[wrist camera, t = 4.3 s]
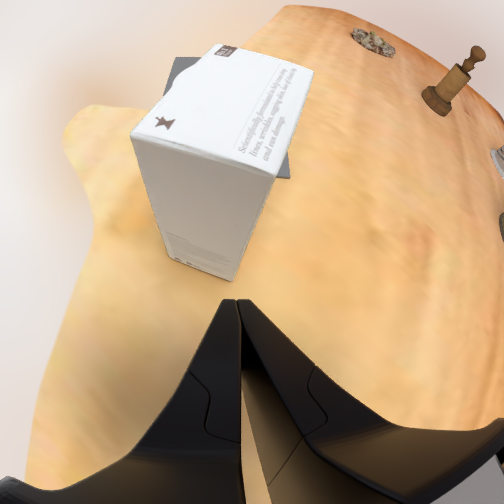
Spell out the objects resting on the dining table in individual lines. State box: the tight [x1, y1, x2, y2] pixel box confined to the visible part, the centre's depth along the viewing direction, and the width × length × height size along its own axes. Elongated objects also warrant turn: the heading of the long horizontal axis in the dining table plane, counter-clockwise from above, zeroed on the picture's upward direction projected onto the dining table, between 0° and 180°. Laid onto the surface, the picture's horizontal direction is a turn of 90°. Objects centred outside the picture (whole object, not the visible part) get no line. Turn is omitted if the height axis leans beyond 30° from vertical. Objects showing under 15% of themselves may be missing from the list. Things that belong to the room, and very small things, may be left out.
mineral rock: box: [352, 28, 396, 57], centre depth 42 cm, size 11×4×8 cm
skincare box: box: [130, 44, 314, 281], centre depth 17 cm, size 8×6×15 cm
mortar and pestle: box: [422, 46, 486, 116], centre depth 31 cm, size 7×6×18 cm
